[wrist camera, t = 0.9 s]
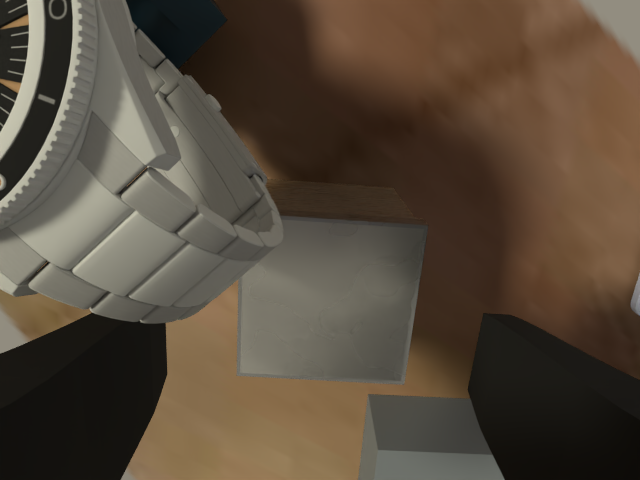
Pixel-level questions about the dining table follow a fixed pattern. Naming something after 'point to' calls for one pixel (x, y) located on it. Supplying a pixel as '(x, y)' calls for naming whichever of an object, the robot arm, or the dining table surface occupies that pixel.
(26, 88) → the watch
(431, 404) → the watch box
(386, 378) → the tea tin
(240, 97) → the dining table surface
